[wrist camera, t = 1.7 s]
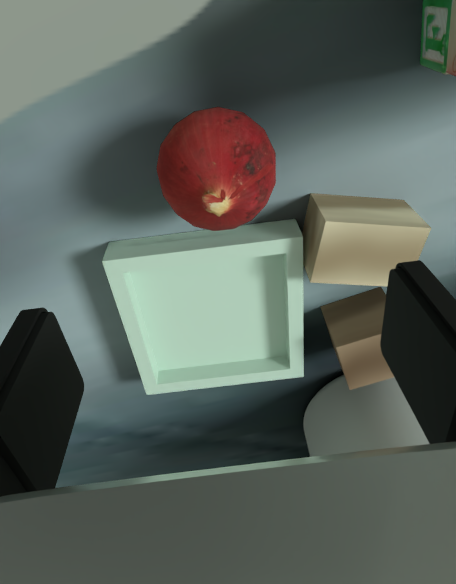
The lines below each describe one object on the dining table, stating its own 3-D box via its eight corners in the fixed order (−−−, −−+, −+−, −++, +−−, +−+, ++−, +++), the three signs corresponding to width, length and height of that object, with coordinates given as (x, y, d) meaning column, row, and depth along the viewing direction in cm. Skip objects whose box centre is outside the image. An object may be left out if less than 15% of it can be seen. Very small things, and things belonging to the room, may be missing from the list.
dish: (109, 241, 27) (101, 261, 25) (295, 218, 27) (302, 236, 25) (149, 371, 34) (146, 394, 32) (297, 354, 34) (303, 376, 32)
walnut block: (319, 305, 31) (336, 347, 27) (380, 286, 30) (405, 326, 27) (333, 346, 33) (349, 390, 30) (389, 329, 33) (413, 371, 29)
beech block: (310, 192, 26) (325, 221, 23) (402, 199, 26) (431, 228, 23) (297, 248, 28) (310, 282, 25) (383, 253, 29) (406, 287, 25)
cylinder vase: (417, 446, 42) (621, 871, 22) (294, 452, 41) (385, 893, 21) (458, 356, 35) (822, 868, 14) (310, 362, 34) (471, 902, 14)
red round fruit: (235, 70, 22) (251, 103, 15) (282, 166, 25) (312, 228, 18) (142, 129, 23) (120, 183, 16) (198, 213, 26) (197, 285, 19)
